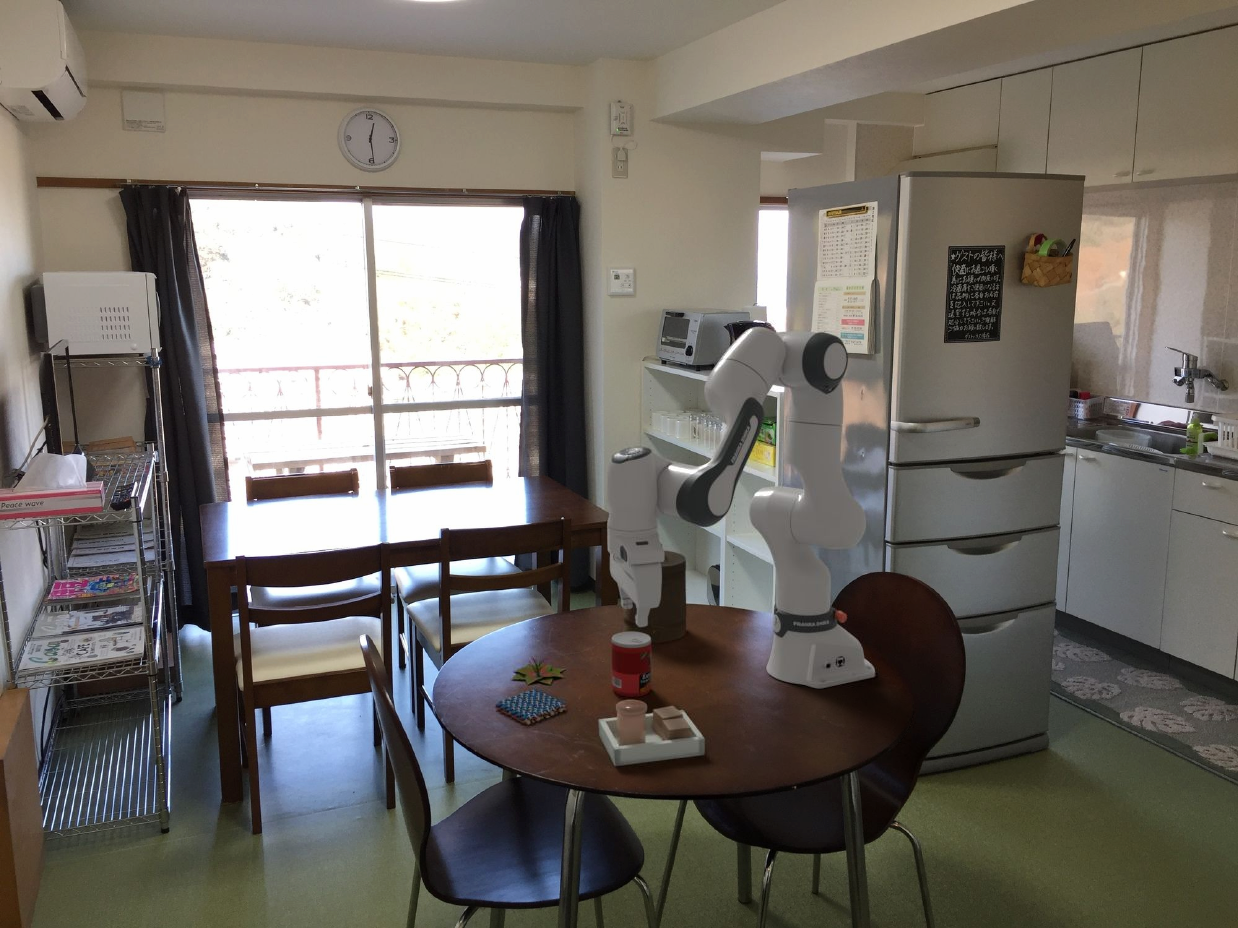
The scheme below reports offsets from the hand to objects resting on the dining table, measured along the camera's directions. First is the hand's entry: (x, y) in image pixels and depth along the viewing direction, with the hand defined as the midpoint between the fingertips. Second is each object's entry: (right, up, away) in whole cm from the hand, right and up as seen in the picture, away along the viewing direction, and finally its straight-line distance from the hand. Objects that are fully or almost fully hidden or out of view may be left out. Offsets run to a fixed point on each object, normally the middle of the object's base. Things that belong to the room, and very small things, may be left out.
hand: (634, 616), depth 170 cm
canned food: (0, -19, +24) cm, 30 cm away
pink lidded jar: (-1, -22, -1) cm, 22 cm away
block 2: (+7, -22, -1) cm, 24 cm away
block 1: (+6, -22, +3) cm, 23 cm away
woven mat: (-20, -21, +15) cm, 32 cm away
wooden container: (+6, -13, +57) cm, 58 cm away
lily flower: (-20, -18, +31) cm, 41 cm away
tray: (+3, -23, 0) cm, 23 cm away
